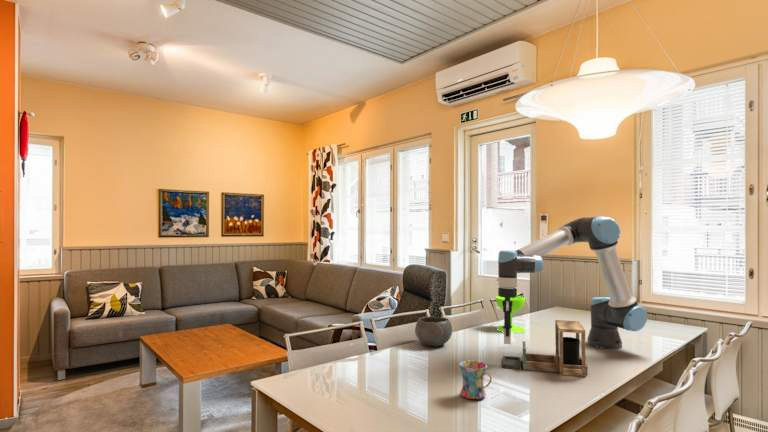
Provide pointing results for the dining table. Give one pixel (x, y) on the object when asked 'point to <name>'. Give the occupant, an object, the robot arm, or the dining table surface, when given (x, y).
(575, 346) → the cup
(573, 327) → the brown wooden frame
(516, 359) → the tray
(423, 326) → the bowl
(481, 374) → the mug
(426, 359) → the dining table surface
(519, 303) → the wineglass
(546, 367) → the sled
